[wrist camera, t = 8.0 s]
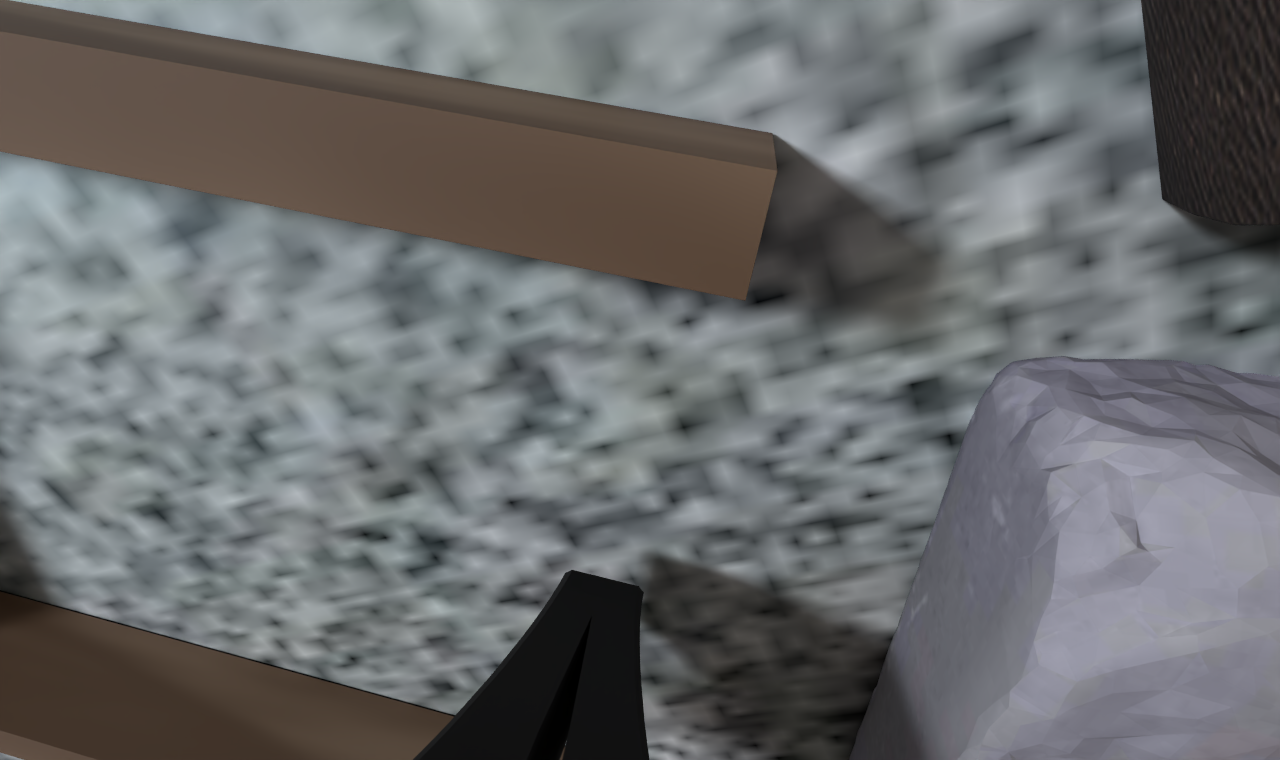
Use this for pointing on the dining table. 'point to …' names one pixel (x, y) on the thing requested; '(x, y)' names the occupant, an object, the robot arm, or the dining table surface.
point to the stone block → (1097, 575)
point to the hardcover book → (1217, 106)
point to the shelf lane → (352, 191)
